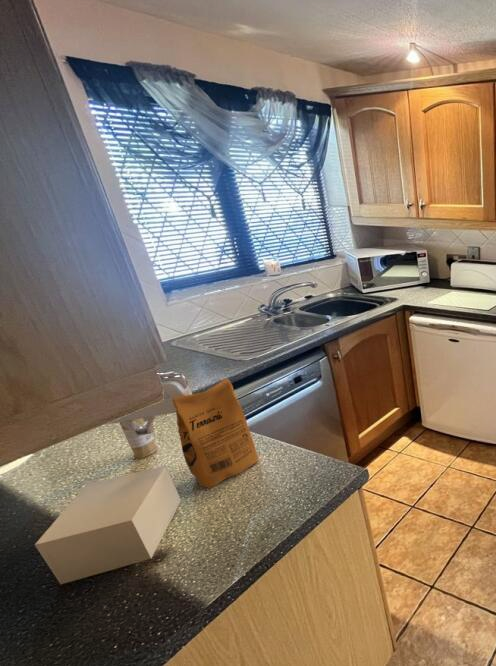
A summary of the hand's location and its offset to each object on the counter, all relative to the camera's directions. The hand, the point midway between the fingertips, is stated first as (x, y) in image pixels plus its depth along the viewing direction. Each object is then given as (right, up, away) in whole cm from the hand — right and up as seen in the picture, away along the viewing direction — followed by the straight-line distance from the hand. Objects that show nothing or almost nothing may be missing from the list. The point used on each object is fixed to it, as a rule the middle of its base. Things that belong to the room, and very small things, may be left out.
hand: (145, 433), depth 85 cm
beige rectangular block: (+7, -17, -11) cm, 22 cm away
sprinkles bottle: (-11, -9, +12) cm, 19 cm away
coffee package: (+14, -11, +7) cm, 18 cm away
